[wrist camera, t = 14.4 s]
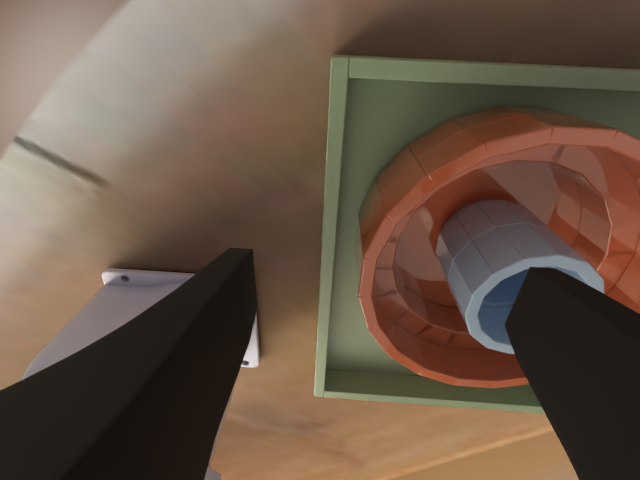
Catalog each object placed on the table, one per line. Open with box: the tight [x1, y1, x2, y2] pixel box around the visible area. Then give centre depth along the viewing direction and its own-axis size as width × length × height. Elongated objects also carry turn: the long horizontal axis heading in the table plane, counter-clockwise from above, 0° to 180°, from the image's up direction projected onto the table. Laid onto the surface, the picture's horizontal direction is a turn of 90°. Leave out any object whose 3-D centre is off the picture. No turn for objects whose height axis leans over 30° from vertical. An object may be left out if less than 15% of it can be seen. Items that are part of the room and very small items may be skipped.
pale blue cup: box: [435, 199, 604, 354], centre depth 15 cm, size 5×5×6 cm
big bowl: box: [355, 106, 640, 388], centre depth 16 cm, size 13×13×5 cm
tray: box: [314, 54, 640, 413], centre depth 18 cm, size 17×20×2 cm
